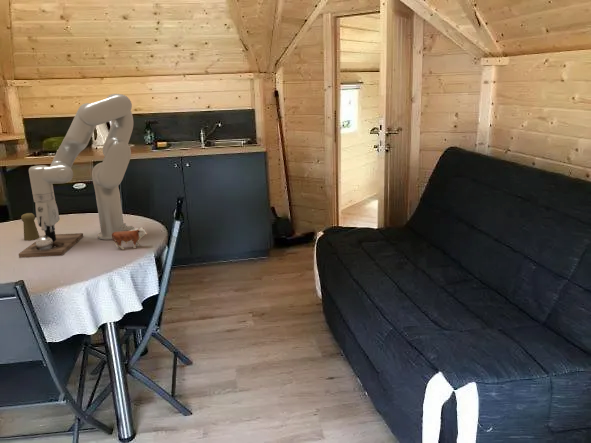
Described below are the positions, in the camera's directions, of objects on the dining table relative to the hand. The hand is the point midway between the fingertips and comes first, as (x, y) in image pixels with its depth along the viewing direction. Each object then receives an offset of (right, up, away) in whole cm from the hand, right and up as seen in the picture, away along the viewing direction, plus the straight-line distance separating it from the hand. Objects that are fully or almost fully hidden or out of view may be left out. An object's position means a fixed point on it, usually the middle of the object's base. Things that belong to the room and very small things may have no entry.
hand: (51, 241), depth 198 cm
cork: (-15, 0, +12) cm, 19 cm away
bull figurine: (+34, -3, -4) cm, 34 cm away
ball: (-1, -1, -4) cm, 4 cm away
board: (0, -2, +1) cm, 2 cm away
